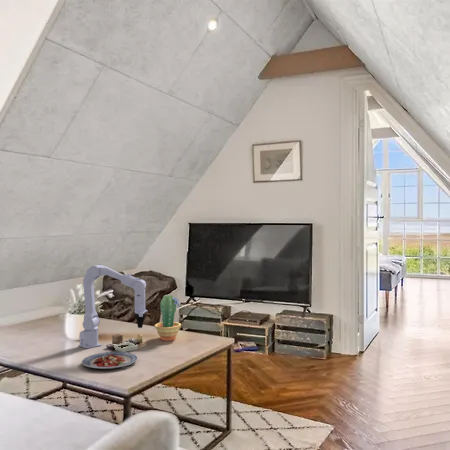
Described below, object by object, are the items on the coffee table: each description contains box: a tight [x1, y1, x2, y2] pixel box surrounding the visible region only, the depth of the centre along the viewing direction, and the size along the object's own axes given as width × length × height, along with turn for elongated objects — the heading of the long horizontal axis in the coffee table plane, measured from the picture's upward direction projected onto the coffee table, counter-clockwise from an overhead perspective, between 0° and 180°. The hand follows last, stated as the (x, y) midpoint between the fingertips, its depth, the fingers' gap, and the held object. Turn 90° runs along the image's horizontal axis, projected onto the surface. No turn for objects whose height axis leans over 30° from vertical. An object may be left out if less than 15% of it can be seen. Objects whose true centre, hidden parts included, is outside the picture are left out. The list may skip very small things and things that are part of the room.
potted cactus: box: [154, 294, 182, 342], centre depth 273 cm, size 15×16×25 cm
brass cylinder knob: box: [128, 334, 143, 344], centre depth 260 cm, size 8×3×4 cm, turn 74°
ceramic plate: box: [81, 351, 138, 370], centre depth 227 cm, size 26×26×3 cm
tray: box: [112, 341, 139, 353], centre depth 250 cm, size 9×9×2 cm
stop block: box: [111, 333, 124, 344], centre depth 257 cm, size 4×4×6 cm
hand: (140, 327), depth 256 cm, fingers closed
